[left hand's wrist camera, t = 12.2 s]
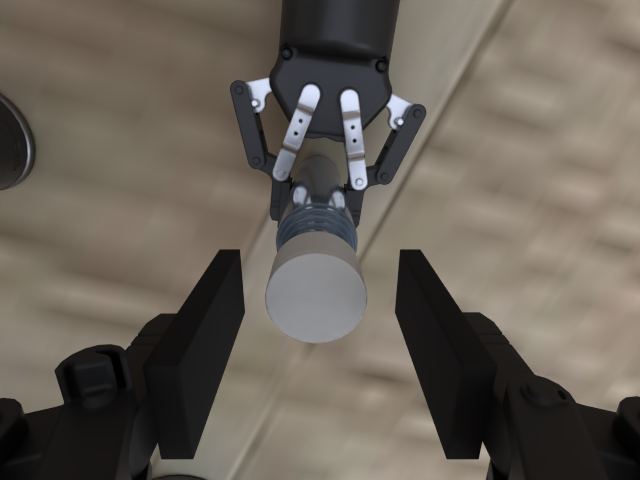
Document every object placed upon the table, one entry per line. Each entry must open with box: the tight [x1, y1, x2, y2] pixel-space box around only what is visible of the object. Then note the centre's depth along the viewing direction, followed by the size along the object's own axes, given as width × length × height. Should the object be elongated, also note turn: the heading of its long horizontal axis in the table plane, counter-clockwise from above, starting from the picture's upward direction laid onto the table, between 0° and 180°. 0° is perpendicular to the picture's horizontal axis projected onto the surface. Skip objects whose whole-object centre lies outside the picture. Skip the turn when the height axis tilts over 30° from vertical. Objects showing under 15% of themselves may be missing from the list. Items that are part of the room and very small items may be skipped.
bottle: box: [276, 156, 357, 253], centre depth 24 cm, size 4×4×23 cm
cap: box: [265, 231, 367, 343], centre depth 15 cm, size 4×4×2 cm
